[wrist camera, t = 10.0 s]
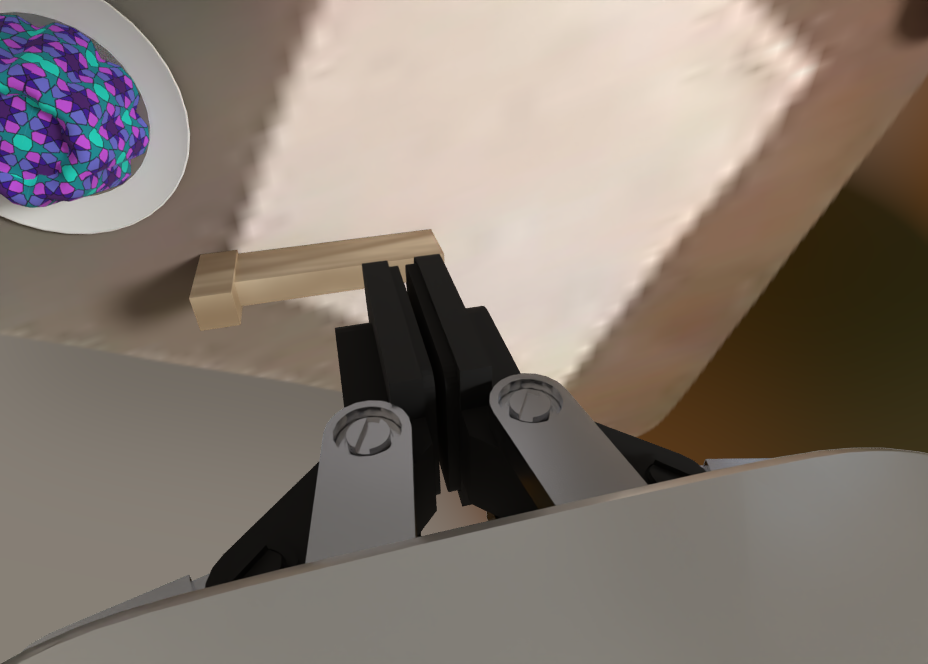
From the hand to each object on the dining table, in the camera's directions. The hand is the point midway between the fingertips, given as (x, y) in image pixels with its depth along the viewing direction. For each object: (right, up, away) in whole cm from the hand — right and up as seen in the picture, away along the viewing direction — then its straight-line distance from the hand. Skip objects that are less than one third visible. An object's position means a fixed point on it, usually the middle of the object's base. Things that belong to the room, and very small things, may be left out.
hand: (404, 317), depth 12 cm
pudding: (-18, +10, +15) cm, 26 cm away
